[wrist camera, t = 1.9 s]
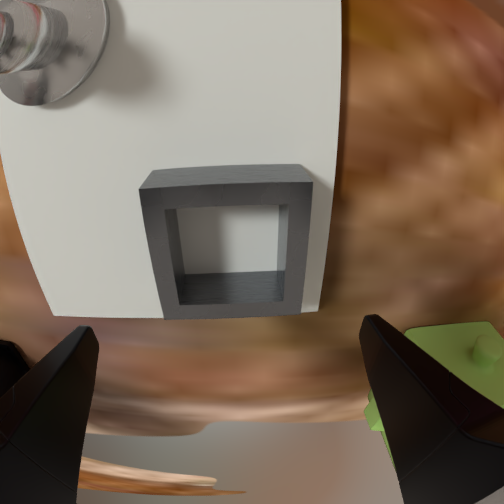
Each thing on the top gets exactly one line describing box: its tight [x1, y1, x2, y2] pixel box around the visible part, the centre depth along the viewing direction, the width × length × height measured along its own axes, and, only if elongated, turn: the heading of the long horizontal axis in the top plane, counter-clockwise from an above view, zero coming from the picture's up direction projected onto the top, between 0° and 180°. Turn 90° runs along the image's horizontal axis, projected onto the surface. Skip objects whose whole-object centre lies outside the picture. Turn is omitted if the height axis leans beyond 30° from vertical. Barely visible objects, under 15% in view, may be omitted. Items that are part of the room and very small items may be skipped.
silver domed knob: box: [0, 0, 110, 106], centre depth 7 cm, size 6×6×5 cm
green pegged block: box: [364, 321, 504, 471], centre depth 19 cm, size 18×10×10 cm, turn 83°
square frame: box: [138, 164, 313, 320], centre depth 14 cm, size 7×7×2 cm
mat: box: [0, 0, 341, 318], centre depth 13 cm, size 20×17×1 cm
